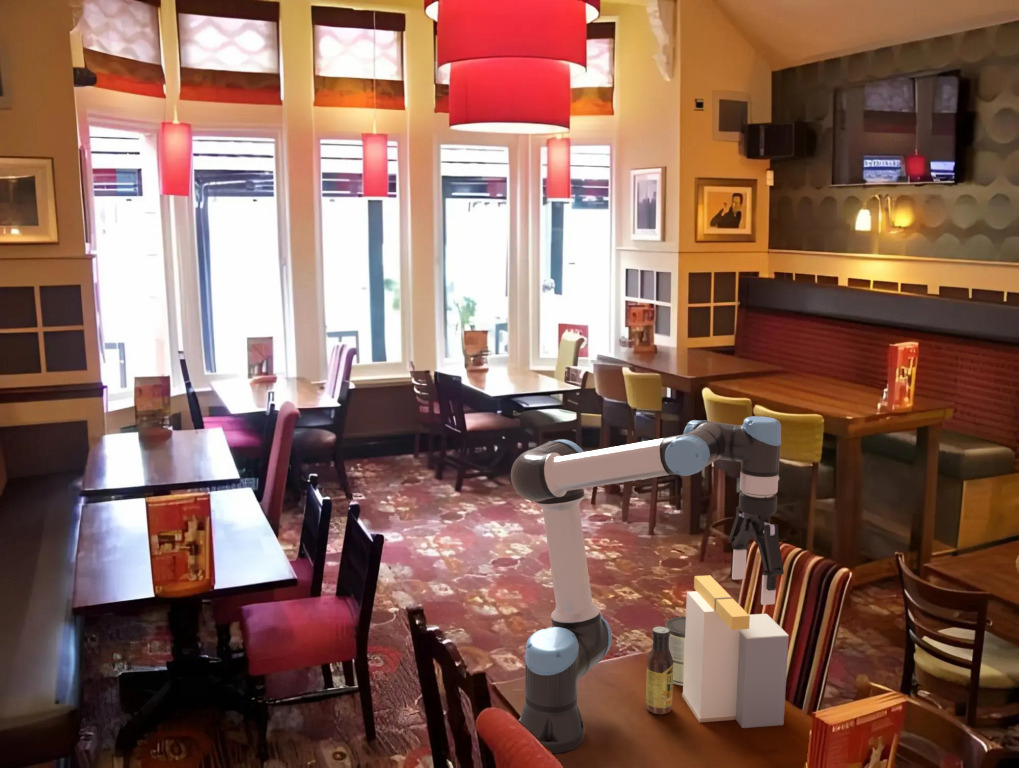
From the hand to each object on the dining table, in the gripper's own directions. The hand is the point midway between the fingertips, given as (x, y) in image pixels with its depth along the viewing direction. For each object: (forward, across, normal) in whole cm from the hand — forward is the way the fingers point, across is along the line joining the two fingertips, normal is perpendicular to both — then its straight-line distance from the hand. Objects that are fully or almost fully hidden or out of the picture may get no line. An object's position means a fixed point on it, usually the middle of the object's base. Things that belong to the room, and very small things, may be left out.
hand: (752, 591), depth 192 cm
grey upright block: (+38, +18, -11) cm, 44 cm away
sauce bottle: (+39, +24, +10) cm, 47 cm away
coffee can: (+39, +38, -2) cm, 54 cm away
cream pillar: (+38, +22, -2) cm, 44 cm away
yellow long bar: (+12, +18, -1) cm, 22 cm away
